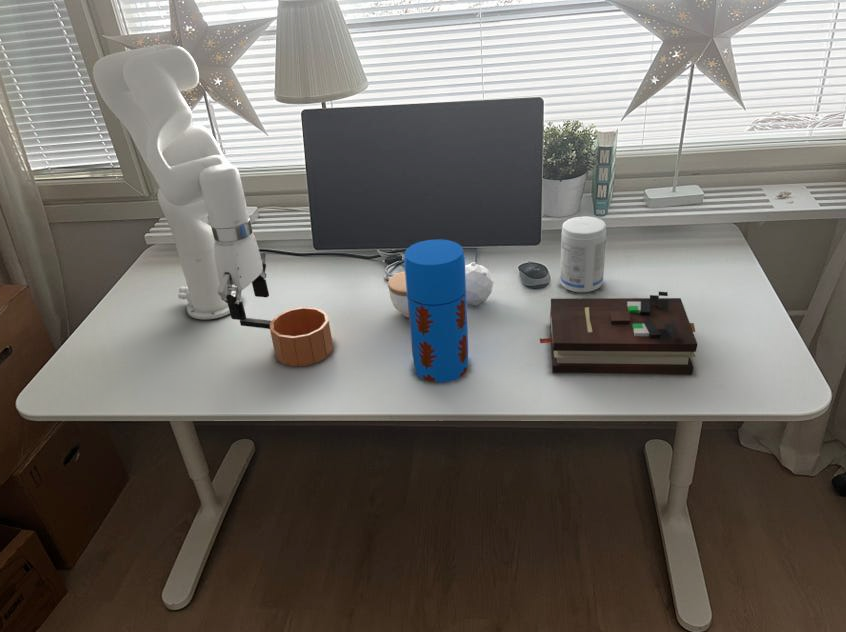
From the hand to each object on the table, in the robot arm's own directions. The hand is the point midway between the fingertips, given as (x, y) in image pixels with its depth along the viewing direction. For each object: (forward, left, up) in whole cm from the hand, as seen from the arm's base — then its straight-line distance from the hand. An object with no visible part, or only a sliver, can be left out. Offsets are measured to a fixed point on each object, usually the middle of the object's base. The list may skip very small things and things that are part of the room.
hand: (251, 307), depth 148 cm
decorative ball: (+40, +28, -10) cm, 50 cm away
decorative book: (+73, +14, -10) cm, 75 cm away
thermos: (+40, 0, -10) cm, 42 cm away
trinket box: (+28, +20, -10) cm, 36 cm away
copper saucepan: (+7, 0, -10) cm, 12 cm away
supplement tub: (+62, +39, -10) cm, 74 cm away
